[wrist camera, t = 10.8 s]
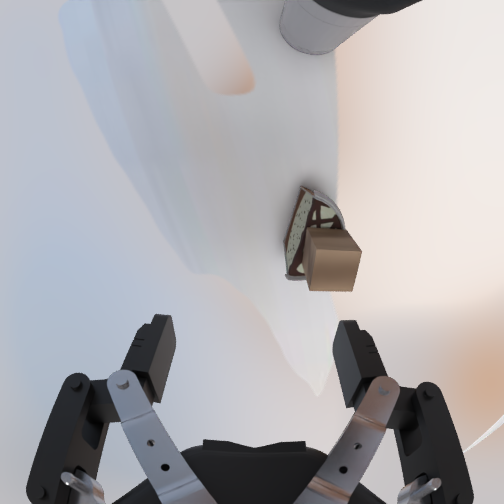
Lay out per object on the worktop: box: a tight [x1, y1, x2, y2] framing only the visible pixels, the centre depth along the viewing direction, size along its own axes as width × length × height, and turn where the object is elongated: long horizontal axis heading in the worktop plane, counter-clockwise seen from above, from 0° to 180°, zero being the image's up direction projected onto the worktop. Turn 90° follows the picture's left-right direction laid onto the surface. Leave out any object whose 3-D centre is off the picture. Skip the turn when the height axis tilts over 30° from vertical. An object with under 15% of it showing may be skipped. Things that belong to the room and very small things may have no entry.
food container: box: [283, 186, 346, 281], centre depth 39 cm, size 12×6×10 cm, turn 166°
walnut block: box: [302, 227, 362, 291], centre depth 32 cm, size 5×5×6 cm
